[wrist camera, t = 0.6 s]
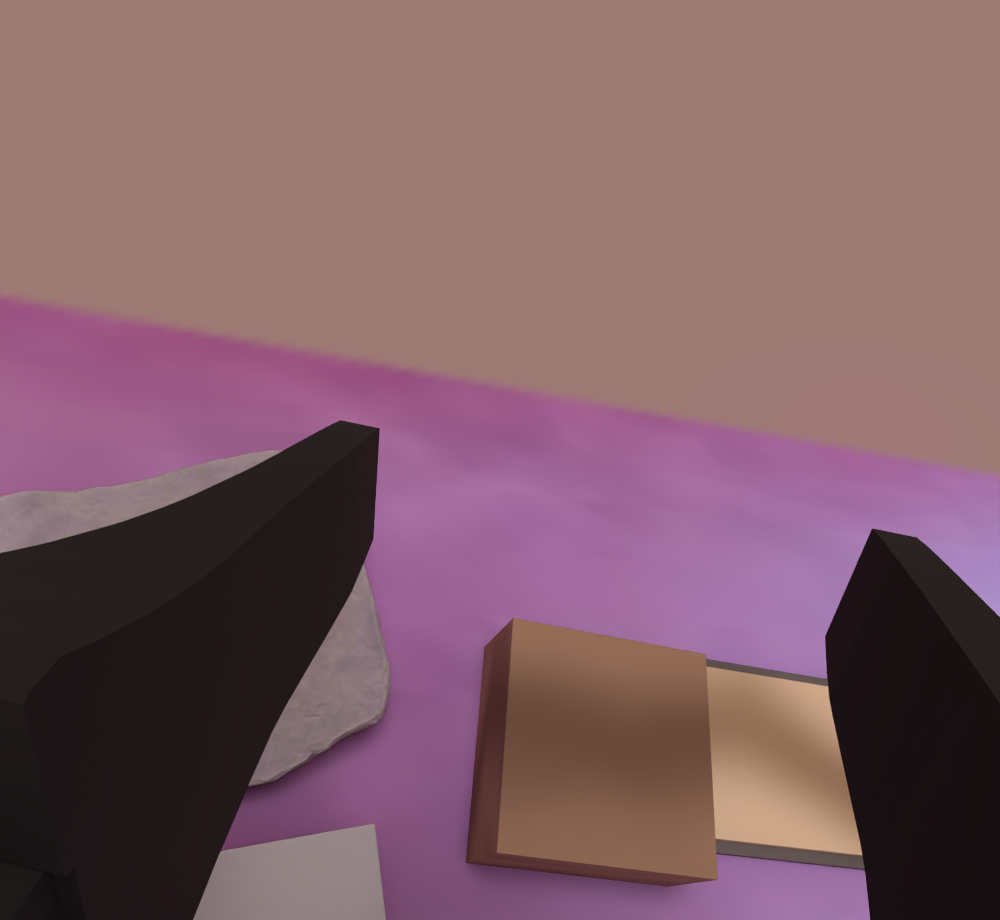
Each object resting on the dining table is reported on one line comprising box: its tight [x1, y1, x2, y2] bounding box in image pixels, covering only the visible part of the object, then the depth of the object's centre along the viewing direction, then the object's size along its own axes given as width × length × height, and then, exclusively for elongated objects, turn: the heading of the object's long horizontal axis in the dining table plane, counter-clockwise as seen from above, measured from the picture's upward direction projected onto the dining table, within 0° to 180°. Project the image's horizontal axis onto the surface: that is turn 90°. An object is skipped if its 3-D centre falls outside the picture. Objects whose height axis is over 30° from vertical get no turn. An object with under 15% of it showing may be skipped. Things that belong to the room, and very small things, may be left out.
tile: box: [706, 659, 865, 870], centre depth 32 cm, size 7×7×1 cm
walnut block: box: [466, 618, 718, 886], centre depth 28 cm, size 7×7×4 cm
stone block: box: [0, 450, 390, 786], centre depth 26 cm, size 12×5×10 cm
